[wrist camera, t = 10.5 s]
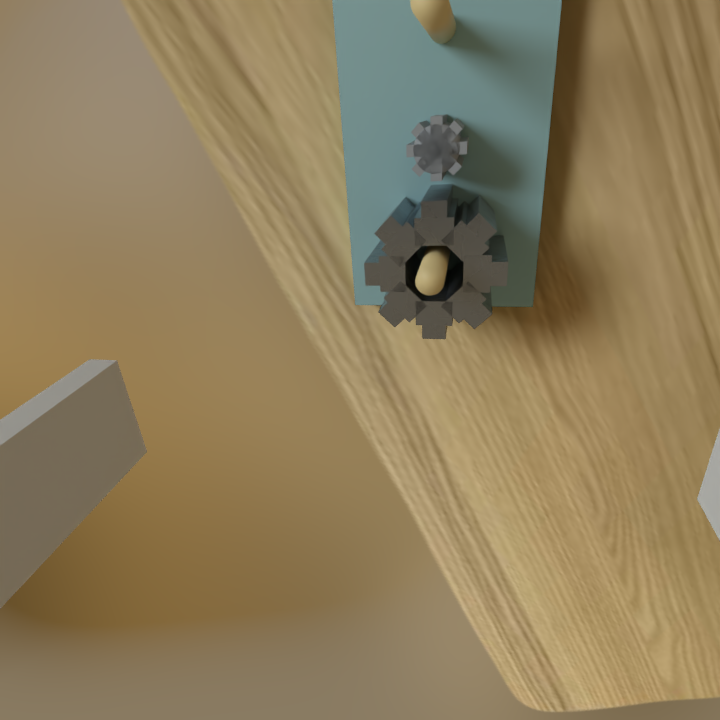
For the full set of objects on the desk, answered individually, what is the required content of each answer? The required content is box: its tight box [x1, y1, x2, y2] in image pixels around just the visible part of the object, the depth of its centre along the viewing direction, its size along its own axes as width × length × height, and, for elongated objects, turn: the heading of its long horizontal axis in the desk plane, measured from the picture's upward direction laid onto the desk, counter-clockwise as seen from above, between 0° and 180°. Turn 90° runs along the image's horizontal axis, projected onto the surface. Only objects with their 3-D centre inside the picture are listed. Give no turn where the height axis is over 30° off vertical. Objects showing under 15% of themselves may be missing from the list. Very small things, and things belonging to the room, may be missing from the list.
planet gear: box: [364, 184, 508, 339], centre depth 25 cm, size 6×6×5 cm
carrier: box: [333, 0, 562, 307], centre depth 22 cm, size 17×10×8 cm, turn 4°
